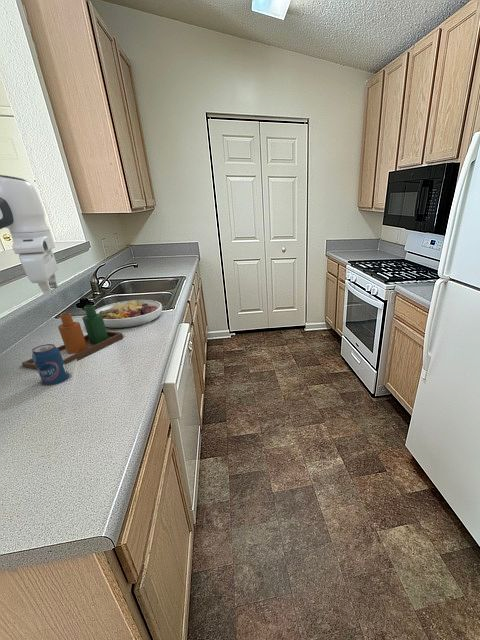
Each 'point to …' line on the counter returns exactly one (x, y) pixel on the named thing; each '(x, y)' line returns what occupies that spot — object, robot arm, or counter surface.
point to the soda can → (49, 364)
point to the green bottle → (94, 325)
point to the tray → (90, 350)
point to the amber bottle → (72, 334)
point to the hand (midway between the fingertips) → (51, 291)
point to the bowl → (129, 313)
